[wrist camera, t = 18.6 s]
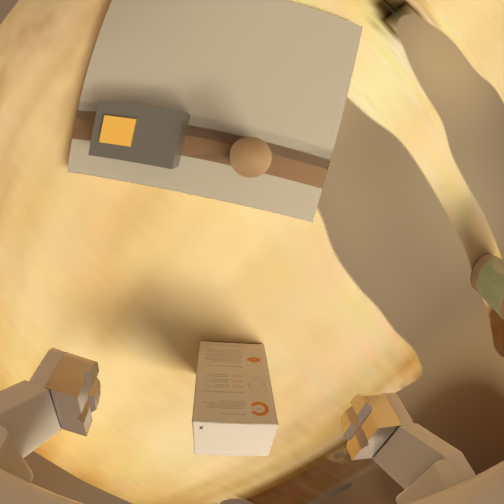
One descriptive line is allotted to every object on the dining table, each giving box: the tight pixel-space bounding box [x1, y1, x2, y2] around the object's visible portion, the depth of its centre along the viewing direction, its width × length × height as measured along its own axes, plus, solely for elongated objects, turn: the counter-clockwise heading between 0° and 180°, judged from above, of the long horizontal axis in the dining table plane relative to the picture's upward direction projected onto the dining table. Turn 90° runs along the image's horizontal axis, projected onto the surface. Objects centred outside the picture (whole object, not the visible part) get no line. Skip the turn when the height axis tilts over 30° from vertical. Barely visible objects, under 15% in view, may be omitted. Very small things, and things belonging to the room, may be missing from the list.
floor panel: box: [67, 0, 362, 222], centre depth 26 cm, size 26×22×2 cm
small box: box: [192, 341, 279, 456], centre depth 32 cm, size 8×6×13 cm
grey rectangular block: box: [88, 100, 190, 169], centre depth 25 cm, size 8×5×4 cm, turn 76°
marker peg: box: [230, 137, 272, 178], centre depth 25 cm, size 3×3×7 cm
